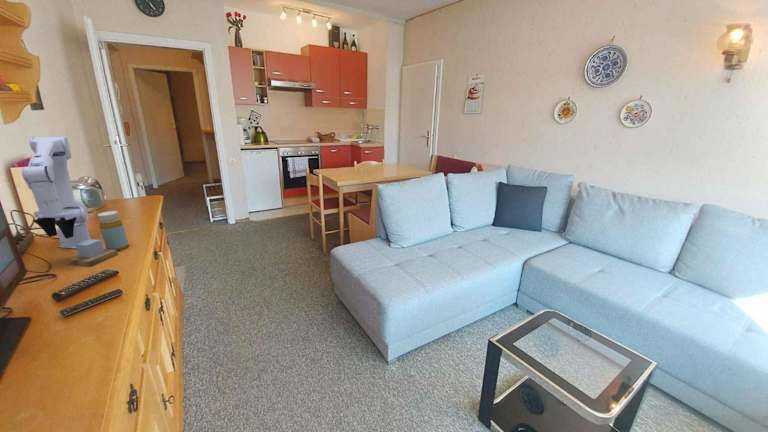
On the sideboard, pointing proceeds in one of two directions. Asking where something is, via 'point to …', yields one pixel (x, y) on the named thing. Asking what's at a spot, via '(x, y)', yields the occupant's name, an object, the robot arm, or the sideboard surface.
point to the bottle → (112, 230)
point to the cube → (89, 248)
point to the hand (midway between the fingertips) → (61, 236)
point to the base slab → (94, 260)
